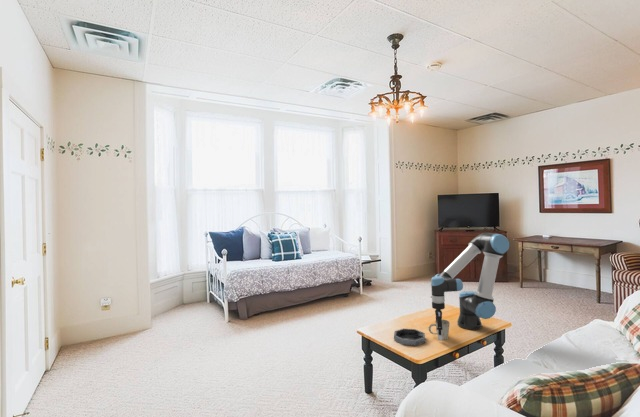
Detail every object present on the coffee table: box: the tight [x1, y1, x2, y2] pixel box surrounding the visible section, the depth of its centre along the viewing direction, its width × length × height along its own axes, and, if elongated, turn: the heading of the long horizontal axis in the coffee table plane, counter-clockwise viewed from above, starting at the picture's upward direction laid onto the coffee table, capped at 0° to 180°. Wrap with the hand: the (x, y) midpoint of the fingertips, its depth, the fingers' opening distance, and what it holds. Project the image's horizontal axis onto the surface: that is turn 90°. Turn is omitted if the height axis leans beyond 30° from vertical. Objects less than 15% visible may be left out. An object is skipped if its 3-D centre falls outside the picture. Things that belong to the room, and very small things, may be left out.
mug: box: [428, 319, 450, 340], centre depth 209 cm, size 8×13×10 cm, turn 78°
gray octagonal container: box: [393, 328, 426, 347], centre depth 208 cm, size 18×18×3 cm
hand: (439, 335), depth 209 cm, fingers open, 13 cm apart
